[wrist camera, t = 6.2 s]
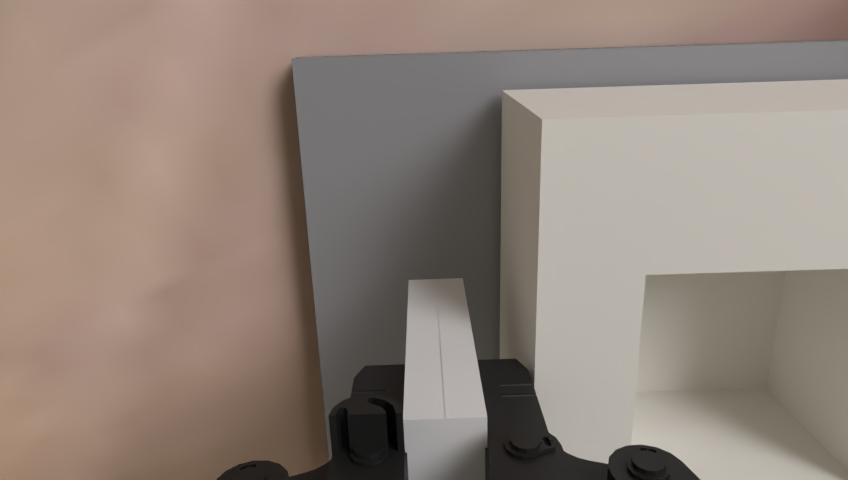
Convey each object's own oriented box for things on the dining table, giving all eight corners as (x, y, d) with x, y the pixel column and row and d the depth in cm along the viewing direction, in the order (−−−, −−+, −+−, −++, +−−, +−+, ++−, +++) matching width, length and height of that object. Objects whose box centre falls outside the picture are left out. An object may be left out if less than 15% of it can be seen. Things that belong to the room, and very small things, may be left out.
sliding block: (794, 444, 21) (933, 596, 16) (498, 453, 21) (527, 608, 16) (863, 78, 17) (1078, 102, 12) (501, 89, 17) (542, 119, 12)
